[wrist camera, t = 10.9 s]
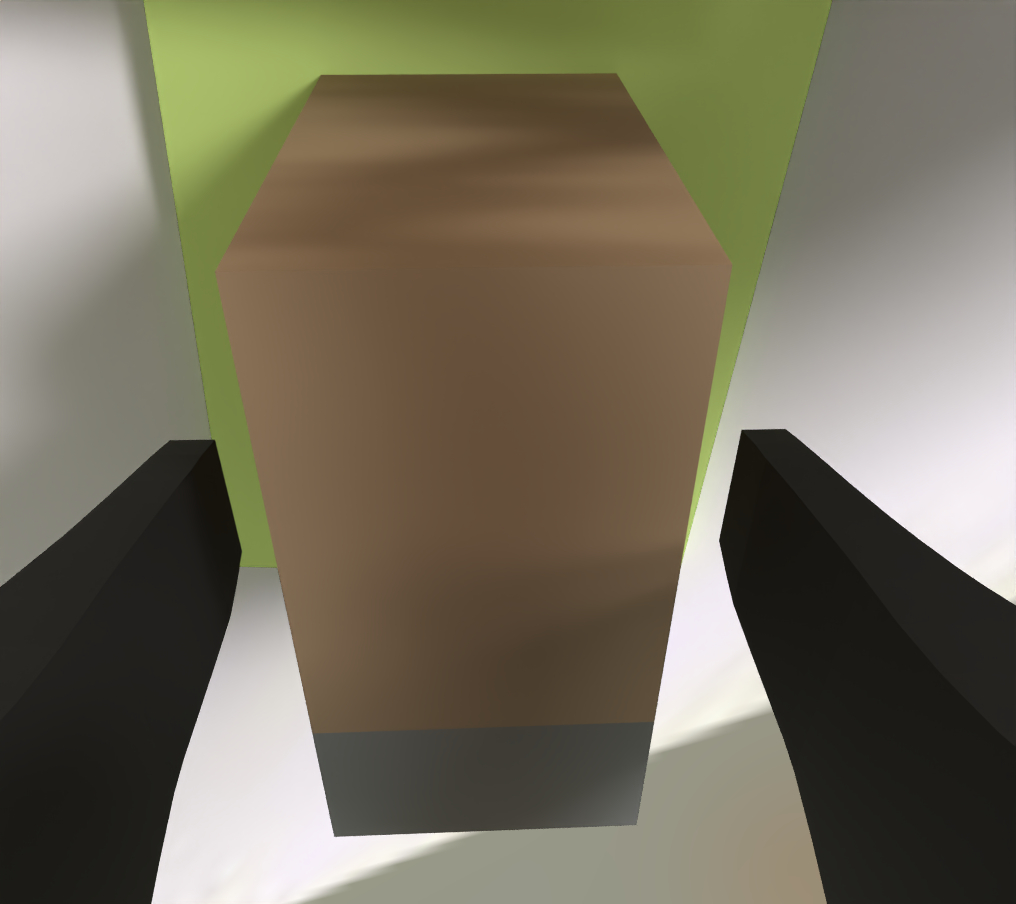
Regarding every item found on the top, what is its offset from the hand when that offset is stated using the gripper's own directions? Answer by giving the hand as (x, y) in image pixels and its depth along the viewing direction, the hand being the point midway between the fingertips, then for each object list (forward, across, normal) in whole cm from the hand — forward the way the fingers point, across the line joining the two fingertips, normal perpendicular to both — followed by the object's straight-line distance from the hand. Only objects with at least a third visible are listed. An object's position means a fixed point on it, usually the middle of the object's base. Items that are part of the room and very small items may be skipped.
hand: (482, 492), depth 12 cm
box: (+5, 0, 0) cm, 5 cm away
